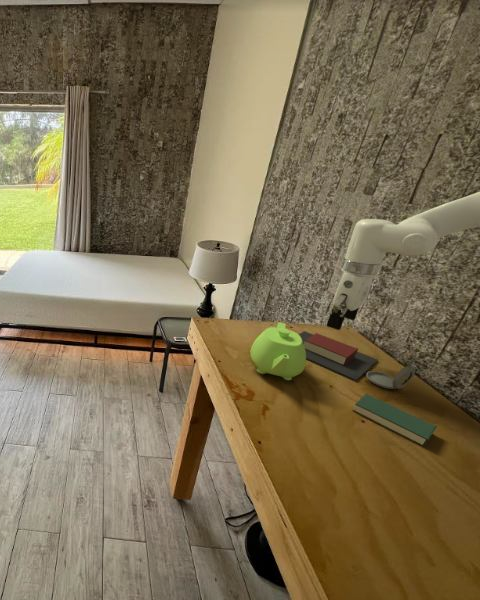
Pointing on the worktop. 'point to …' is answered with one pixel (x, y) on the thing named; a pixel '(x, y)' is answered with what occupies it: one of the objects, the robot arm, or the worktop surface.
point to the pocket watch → (389, 381)
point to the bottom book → (395, 419)
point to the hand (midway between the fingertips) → (340, 322)
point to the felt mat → (350, 370)
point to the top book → (330, 349)
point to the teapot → (279, 352)
